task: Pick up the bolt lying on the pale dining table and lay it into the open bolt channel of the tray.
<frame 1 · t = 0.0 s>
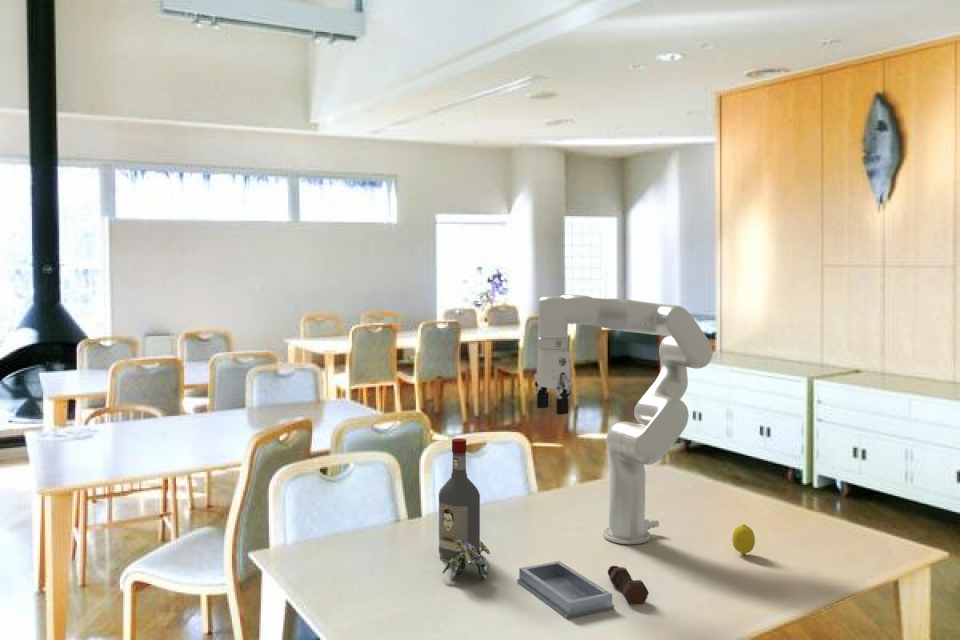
hand: (552, 410, 212), 37 cm above the table, tool pointing down, fingers open, 9 cm apart
lemon: (743, 555, 212), on the table
tray: (563, 595, 186), on the table
bolt: (625, 593, 188), on the table
passion flower: (466, 580, 195), on the table
liquor: (459, 556, 211), on the table
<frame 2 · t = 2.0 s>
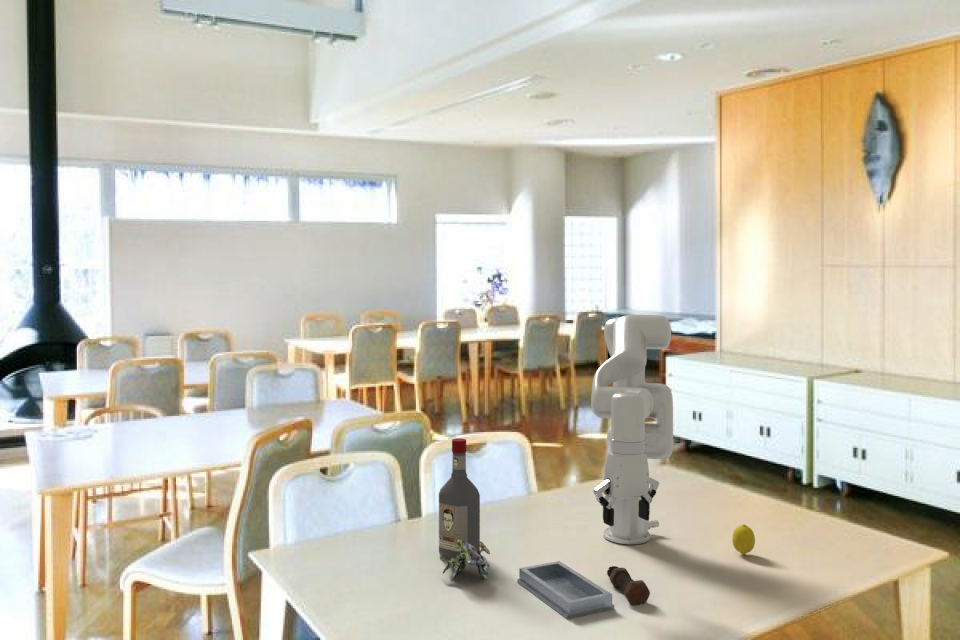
hand: (626, 521, 187), 16 cm above the table, tool pointing down, fingers open, 9 cm apart
nothing on the table moved.
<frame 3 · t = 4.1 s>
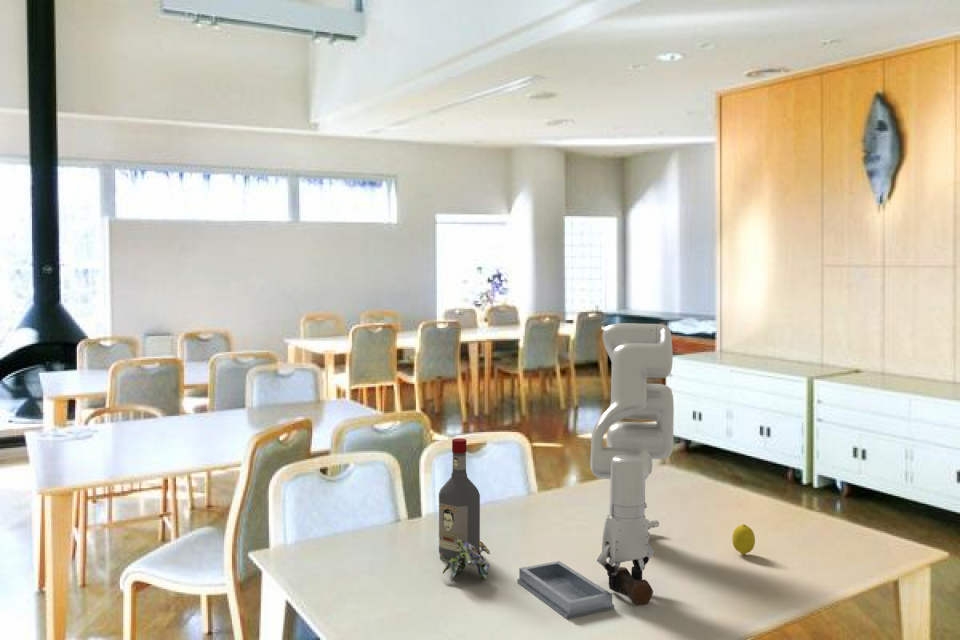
hand: (625, 587, 188), 1 cm above the table, tool pointing down, fingers closed on bolt, 5 cm apart
bolt: (627, 592, 188), on the table, touching gripper
everything else where it was.
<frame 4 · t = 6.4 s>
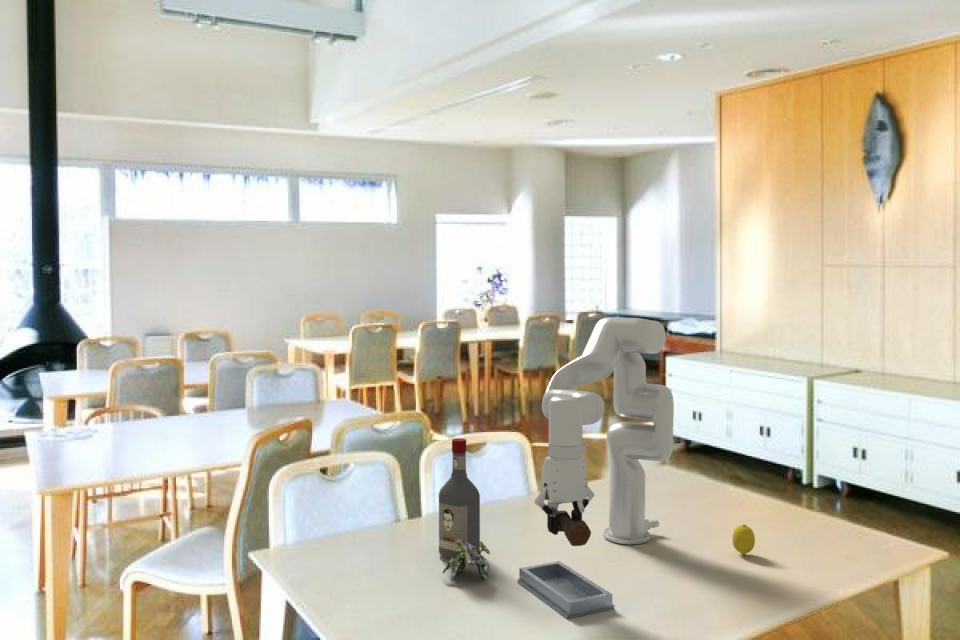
hand: (564, 530, 185), 15 cm above the table, tool pointing down, fingers closed on bolt, 5 cm apart
bolt: (566, 535, 185), point 14 cm above the table, touching gripper
everything else where it was.
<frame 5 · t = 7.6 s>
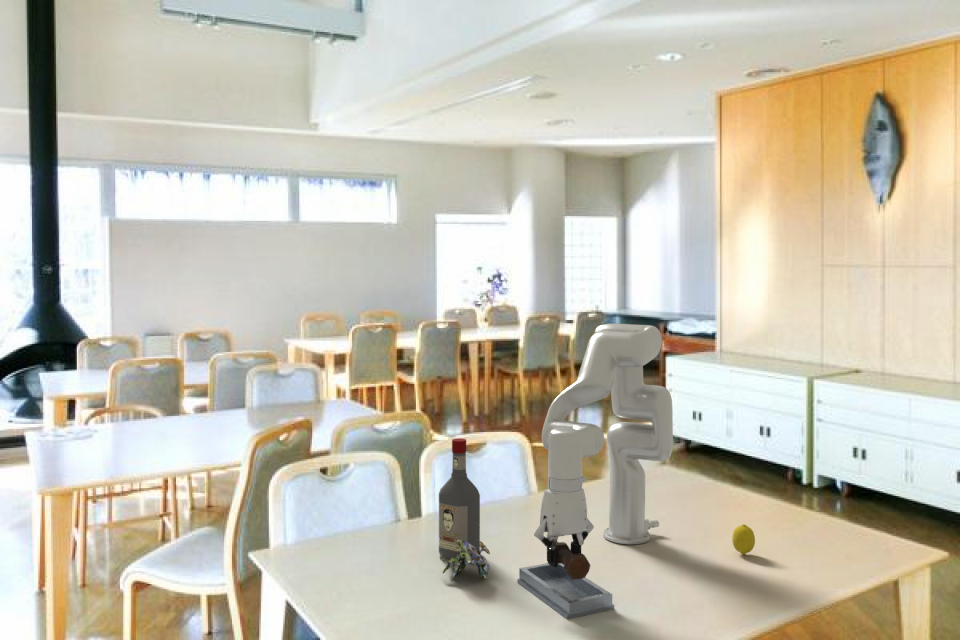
hand: (564, 562, 185), 8 cm above the table, tool pointing down, fingers closed on bolt, 5 cm apart
bolt: (565, 567, 185), point 6 cm above the table, touching gripper
everything else where it was.
when the fingers open (4 cm above the table, at t = 8.8 s): bolt drops 2 cm, resting on tray.
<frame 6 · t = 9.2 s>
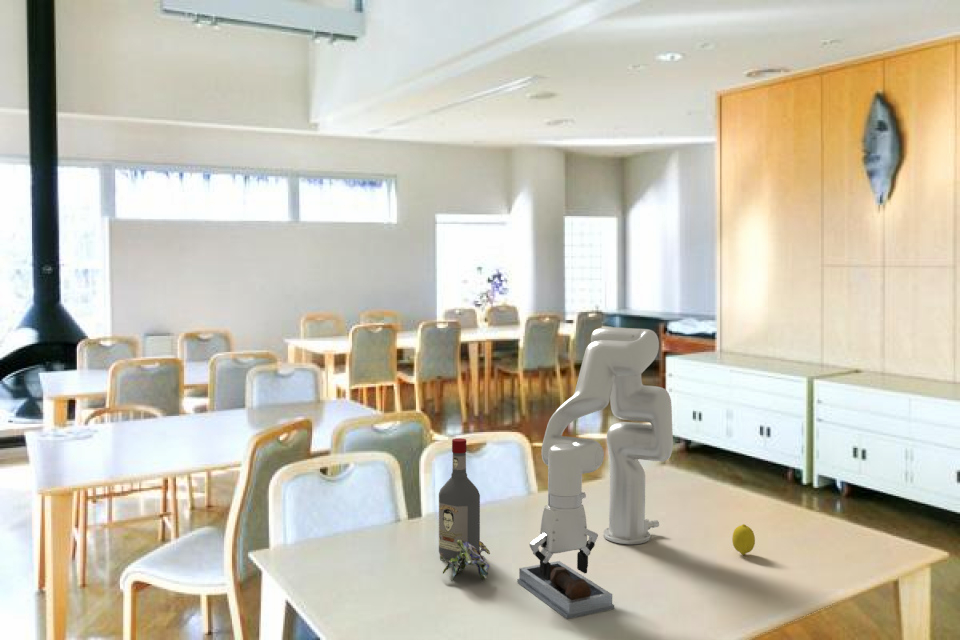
hand: (564, 574, 186), 5 cm above the table, tool pointing down, fingers open, 9 cm apart
bolt: (566, 592, 186), point 1 cm above the table, touching tray
everything else where it was.
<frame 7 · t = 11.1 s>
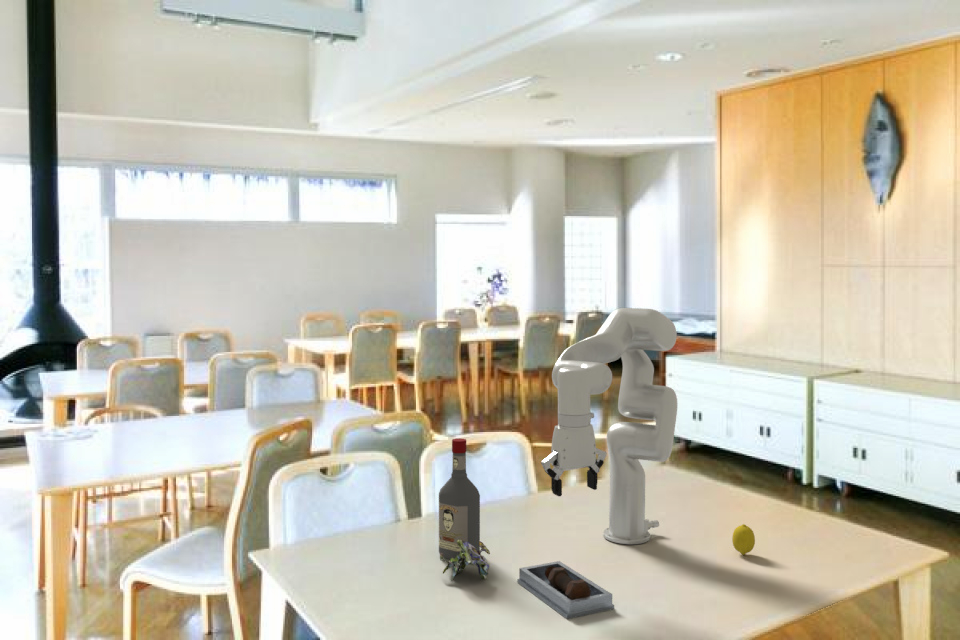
hand: (574, 491, 193), 21 cm above the table, tool pointing down, fingers open, 9 cm apart
nothing on the table moved.
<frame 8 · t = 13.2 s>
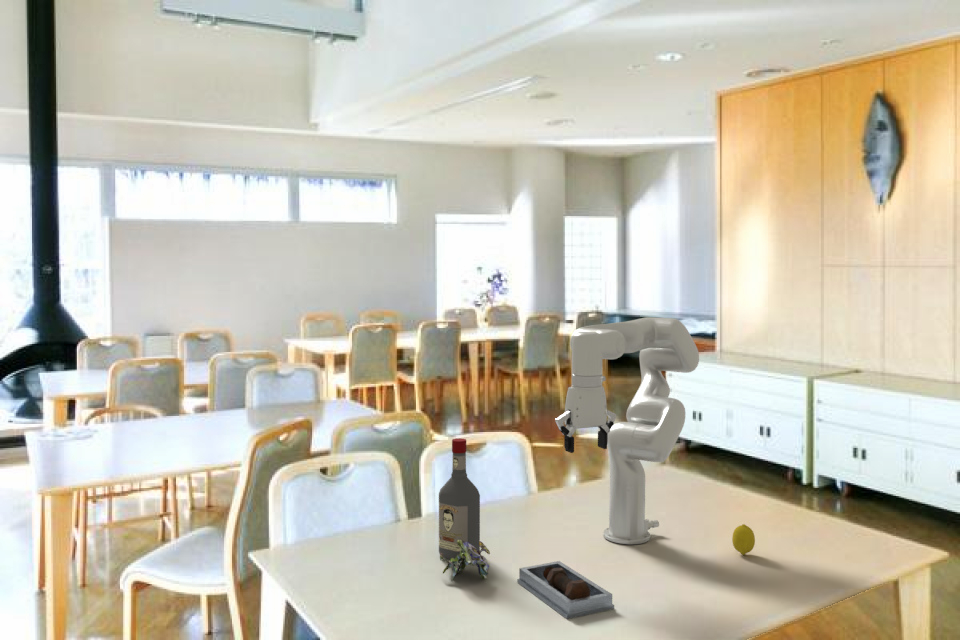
hand: (586, 449, 205), 28 cm above the table, tool pointing down, fingers open, 9 cm apart
nothing on the table moved.
at the end: bolt inside the target area on the tray (0.7 cm from its centre), point 0.6 cm above the tray's base; the gripper is holding nothing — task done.
